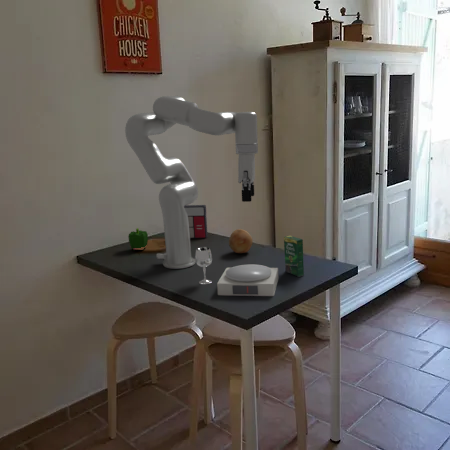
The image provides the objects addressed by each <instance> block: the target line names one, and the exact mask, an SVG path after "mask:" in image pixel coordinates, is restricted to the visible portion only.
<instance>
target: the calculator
mask: <svg viewBox="0 0 450 450" xmlns="http://www.w3.org/2000/svg"><path fill="white" fill-rule="evenodd" d="M184 209H185V211H186V213H187V216H188V222H189V234H190V239H207V238H208V220H207V219H208V218H207V205H206V204H192V205H191V204H188V205H185V206H184Z"/></svg>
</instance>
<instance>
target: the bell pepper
mask: <svg viewBox="0 0 450 450" xmlns="http://www.w3.org/2000/svg"><path fill="white" fill-rule="evenodd" d="M135 229H136V231H131V232H130V233H128V236H127V237H128V242H129V245H130V248H131V250H132V249H133V248H141V247H145V246H146V245H147V246H148V241H149V236H148V235H149V234H148V232H147V231H146V230H145V231H144V230H139V228H138V227H137V228H135Z"/></svg>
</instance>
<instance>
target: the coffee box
mask: <svg viewBox="0 0 450 450" xmlns="http://www.w3.org/2000/svg"><path fill="white" fill-rule="evenodd" d="M303 241H304V240H303V239H302V238H299V237H295V236H292V235H287V236H283V247H284V249H283V251H284V267H285V272H286V273H288V274H291V275H293V276H296V277H298V278H299V277H303V276H304V275H305V274H304V273H305V271H304V270H305V265H304V242H303Z"/></svg>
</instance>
